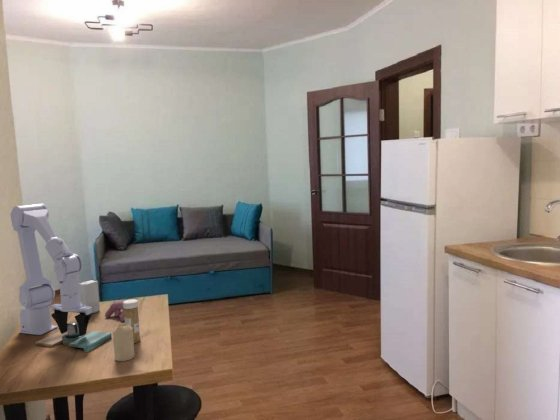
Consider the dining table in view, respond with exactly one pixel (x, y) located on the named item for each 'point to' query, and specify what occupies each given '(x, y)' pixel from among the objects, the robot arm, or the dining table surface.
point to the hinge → (76, 340)
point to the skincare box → (90, 295)
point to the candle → (123, 342)
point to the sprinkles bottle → (132, 317)
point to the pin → (73, 330)
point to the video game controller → (116, 310)
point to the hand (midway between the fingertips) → (73, 333)
